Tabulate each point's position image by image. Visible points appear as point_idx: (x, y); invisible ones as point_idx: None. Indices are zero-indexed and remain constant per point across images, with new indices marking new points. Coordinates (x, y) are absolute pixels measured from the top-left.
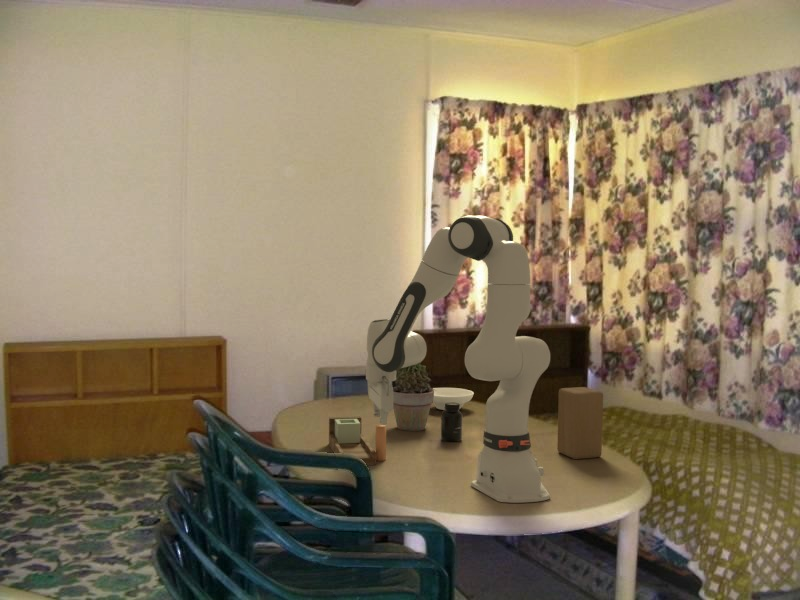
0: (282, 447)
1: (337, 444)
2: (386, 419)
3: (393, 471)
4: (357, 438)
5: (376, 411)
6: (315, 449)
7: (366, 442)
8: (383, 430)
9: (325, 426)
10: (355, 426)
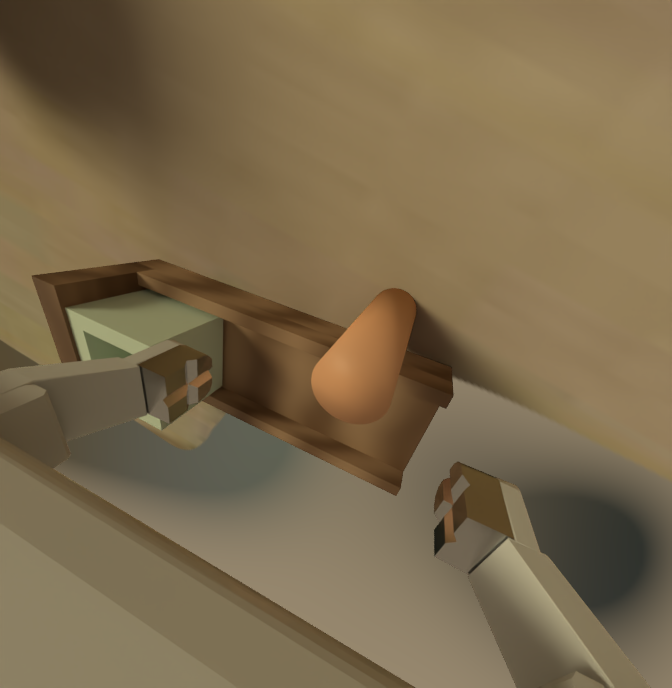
0: (187, 448)
1: (269, 428)
2: (534, 542)
3: (613, 365)
4: (210, 331)
5: (169, 410)
6: (212, 407)
7: (269, 330)
8: (396, 382)
9: (7, 265)
10: None
